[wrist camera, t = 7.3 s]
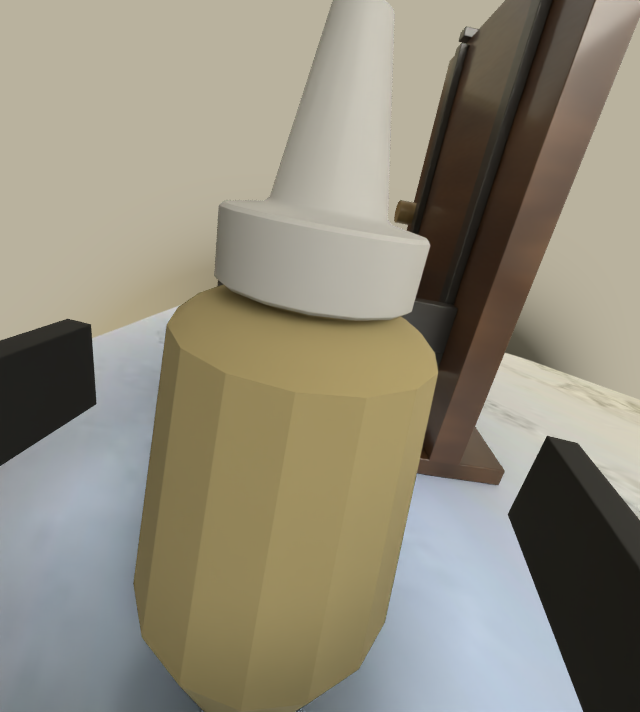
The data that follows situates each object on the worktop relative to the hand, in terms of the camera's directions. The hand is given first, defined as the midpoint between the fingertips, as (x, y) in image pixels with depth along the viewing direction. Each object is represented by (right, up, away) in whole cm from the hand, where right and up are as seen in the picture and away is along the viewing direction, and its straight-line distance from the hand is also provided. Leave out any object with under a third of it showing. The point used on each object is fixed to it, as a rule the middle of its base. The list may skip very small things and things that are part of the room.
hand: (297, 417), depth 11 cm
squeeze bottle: (-2, -8, +3) cm, 9 cm away
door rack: (+2, -1, +23) cm, 23 cm away
